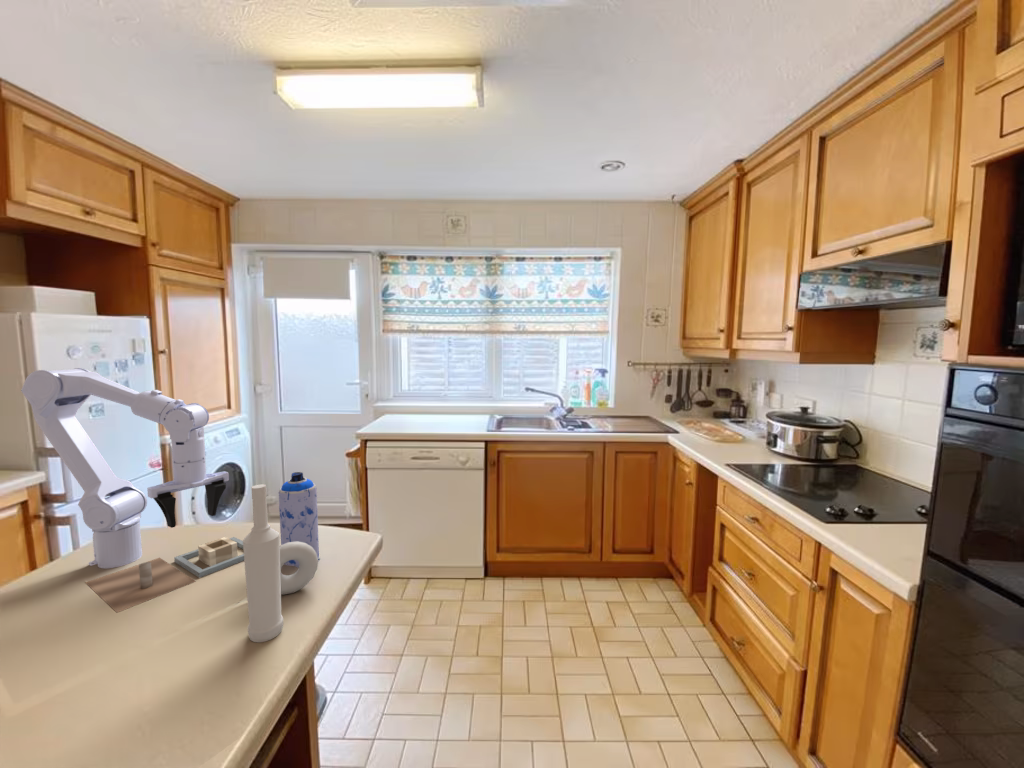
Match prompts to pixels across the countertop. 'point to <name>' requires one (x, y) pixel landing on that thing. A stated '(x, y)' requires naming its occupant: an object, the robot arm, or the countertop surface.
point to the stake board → (139, 584)
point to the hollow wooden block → (217, 551)
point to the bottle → (262, 572)
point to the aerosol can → (299, 513)
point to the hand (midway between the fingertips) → (192, 520)
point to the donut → (306, 567)
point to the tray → (203, 572)
